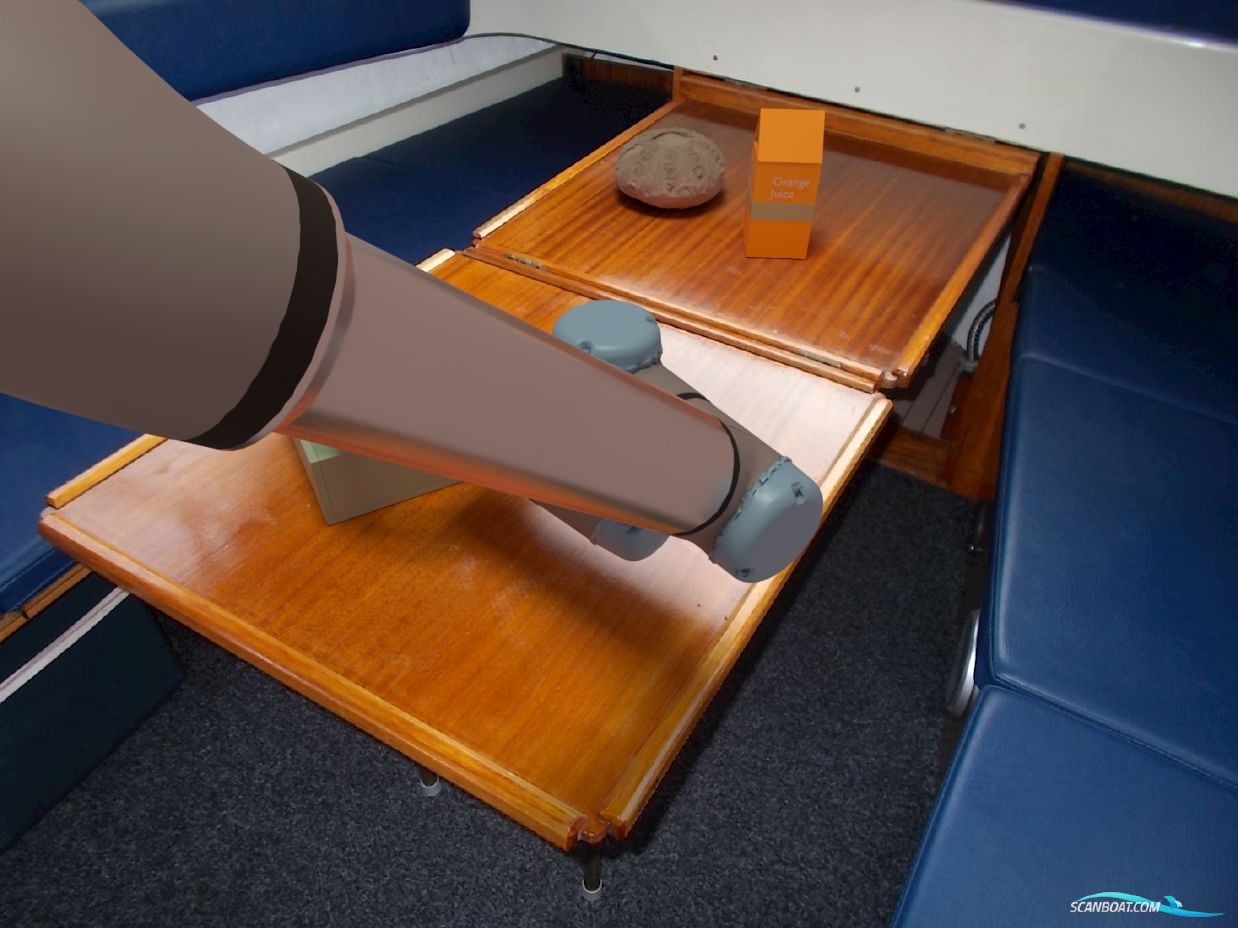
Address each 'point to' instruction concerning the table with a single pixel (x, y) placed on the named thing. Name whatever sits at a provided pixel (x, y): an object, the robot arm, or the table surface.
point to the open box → (360, 481)
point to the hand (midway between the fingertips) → (362, 344)
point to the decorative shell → (670, 168)
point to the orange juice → (783, 182)
